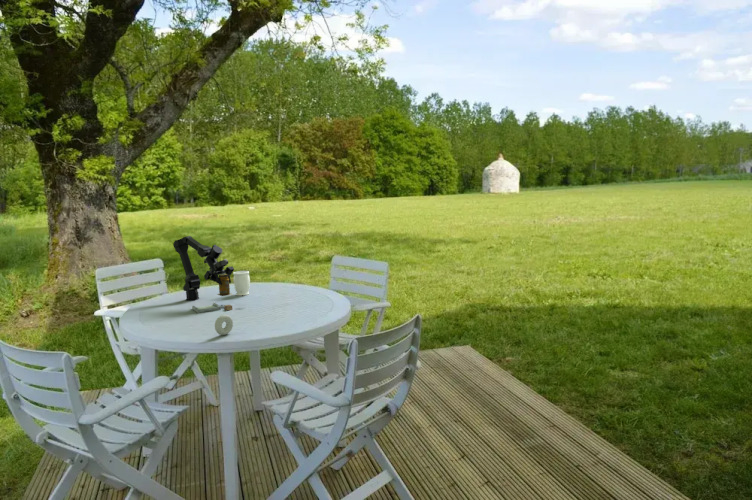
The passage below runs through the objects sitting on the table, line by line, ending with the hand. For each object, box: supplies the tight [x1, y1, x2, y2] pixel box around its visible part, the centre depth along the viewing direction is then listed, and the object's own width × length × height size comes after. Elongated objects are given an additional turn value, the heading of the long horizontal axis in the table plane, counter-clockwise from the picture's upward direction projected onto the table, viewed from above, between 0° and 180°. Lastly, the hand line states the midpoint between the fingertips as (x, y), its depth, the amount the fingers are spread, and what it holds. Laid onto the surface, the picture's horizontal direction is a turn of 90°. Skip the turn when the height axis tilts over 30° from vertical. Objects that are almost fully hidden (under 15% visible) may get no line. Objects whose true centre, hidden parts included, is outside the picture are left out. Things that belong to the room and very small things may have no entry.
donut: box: [214, 314, 234, 336], centre depth 269 cm, size 10×4×10 cm, turn 143°
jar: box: [232, 270, 251, 297], centre depth 362 cm, size 11×10×15 cm
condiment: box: [216, 274, 234, 297], centre depth 332 cm, size 7×8×12 cm
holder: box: [191, 302, 221, 314], centre depth 324 cm, size 13×13×2 cm
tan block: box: [223, 304, 233, 311], centre depth 322 cm, size 4×3×2 cm
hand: (226, 283), depth 331 cm, fingers closed on condiment, 6 cm apart
